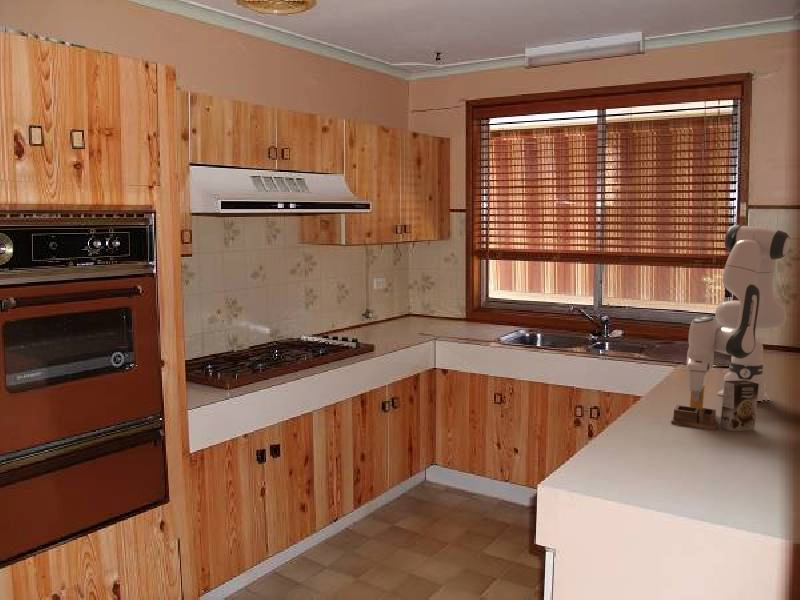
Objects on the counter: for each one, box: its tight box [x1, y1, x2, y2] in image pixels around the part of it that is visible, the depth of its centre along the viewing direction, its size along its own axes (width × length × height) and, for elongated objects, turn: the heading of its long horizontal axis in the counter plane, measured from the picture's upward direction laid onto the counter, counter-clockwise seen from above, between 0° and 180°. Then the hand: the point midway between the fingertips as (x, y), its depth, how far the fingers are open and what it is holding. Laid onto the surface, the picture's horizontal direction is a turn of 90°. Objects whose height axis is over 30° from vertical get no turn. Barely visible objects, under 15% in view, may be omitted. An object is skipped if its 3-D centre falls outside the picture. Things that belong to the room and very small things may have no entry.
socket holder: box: [670, 404, 719, 431], centre depth 247 cm, size 12×14×4 cm
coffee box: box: [720, 380, 759, 432], centre depth 241 cm, size 9×6×16 cm
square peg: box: [689, 385, 705, 416], centre depth 258 cm, size 4×4×10 cm
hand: (697, 399), depth 257 cm, fingers closed on square peg, 4 cm apart
